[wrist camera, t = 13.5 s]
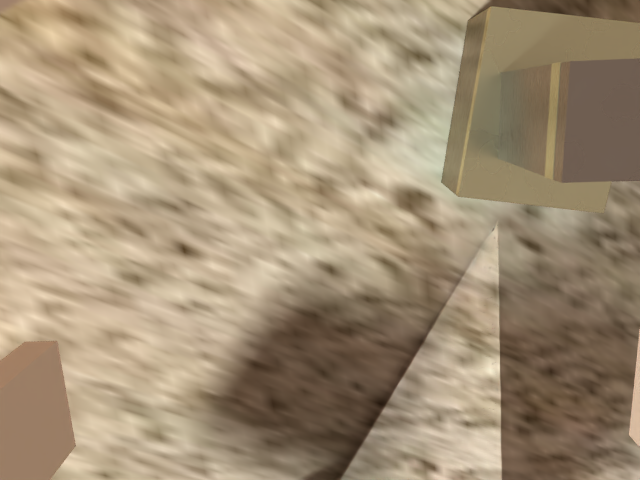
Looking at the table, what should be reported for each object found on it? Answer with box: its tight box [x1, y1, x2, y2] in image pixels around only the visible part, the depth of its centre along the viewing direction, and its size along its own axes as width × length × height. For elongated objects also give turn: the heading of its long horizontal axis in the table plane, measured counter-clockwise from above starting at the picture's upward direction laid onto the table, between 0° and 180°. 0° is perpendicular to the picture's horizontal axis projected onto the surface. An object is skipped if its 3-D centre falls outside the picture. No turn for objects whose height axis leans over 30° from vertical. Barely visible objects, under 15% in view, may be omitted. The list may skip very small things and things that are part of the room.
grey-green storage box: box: [441, 6, 640, 213], centre depth 36 cm, size 11×9×6 cm
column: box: [498, 58, 640, 183], centre depth 28 cm, size 5×5×10 cm
